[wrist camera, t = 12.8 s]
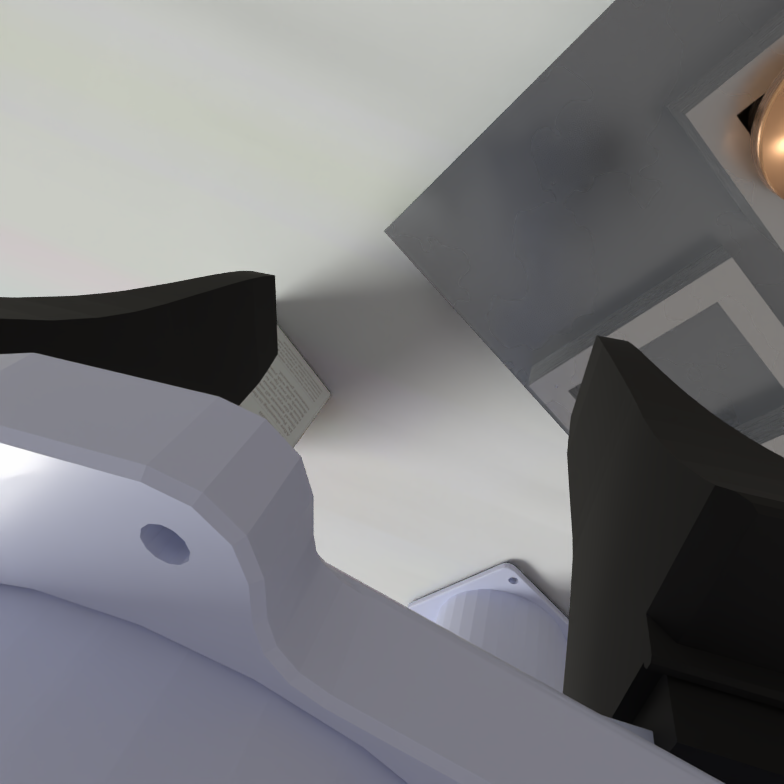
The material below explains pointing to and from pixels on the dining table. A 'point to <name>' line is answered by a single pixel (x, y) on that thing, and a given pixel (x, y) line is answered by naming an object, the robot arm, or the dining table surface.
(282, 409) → the small box
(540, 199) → the housing
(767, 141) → the plunger
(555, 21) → the dining table surface
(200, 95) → the dining table surface
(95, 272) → the dining table surface
